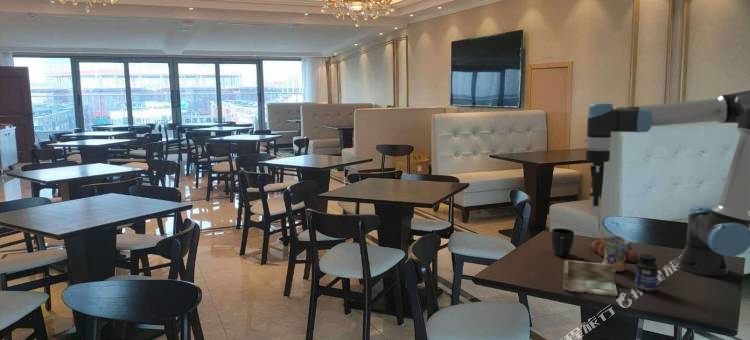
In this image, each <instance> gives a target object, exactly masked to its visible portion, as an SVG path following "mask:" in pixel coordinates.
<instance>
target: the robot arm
mask: <svg viewBox="0 0 750 340" xmlns="http://www.w3.org/2000/svg"><path fill="white" fill-rule="evenodd" d="M706 122H707V123H708V122H717V123H718V124H737V127H736V130H737V131H738V132H739V133H740V135H739V138H738V142H737V144H736V148H735V149H734V150H735V151H734V154H733V157H732V160H731V163H730V166H729V170H728V172H727V176H726V179H725V182H724V185H723V188H722V191H721V195H720V198H719V200H718V203H717V205H715V206H709V205H708V206H707V205H705V206H704V205H695V206H694V205H693V206H692V207H690V208H689V212H688V215H687V217H688V220H687V230H686V242H685V247H684V250H683V251H682V253H681V255H680V257H679V260H678V268H679V269H681V270H683V271H686V272H688V273H692V274H694V275H695V274H696V275H699V276H705V277H724V276H727V275H728V273H729V265H728V262H727V258H726V257H735V256H739V255H741V254H743V253H745V252H746V251H748V250H749V248H750V213H749V211H750V89H749V90H744V91H739V92H733V93H729V94H722V95H718V96H716V98H712V99H711V98H710V99H708V98H707V99H701V100H700V99H699V100H698V99H697V100H690V101H689V100H688V101H678V102H669V103H659V104H658V103H657V104H648V105H637V106H627V107H624V106H621V107H616V108H614V107H613V104H612V103H605V102H603V103H600V102H599V103H598V102H596V103H595V102H594V103H591V104H589V106H588V112H587V123H586V124H587V125H586V127H587V128H586V138H585V139H584V142H585V143H586V146H585V147H586V151H585V160H586V161H587V162H590V163H591V162H592V165H590V175H591V176H590V178H591V182H590V183H591V184H590V185H591V186H590V187H591V188H590V193H589V197H590V202H589V203H590V204H589V207H590V215H591V216H598V217H599V216H600V211H601V195H602V191H601V190H602V179H603V173H604V168H605V167H604V165H602V163H606V162H607V163H608V162H610V156H611V151H610V149H611V148H612V146H611V145H612V133H616V132H617V133H618V132H619V133H638V134H639V133H647V132H649V131H651V128H652V127H658V126H659V127H660V126H661V127H662V126H673V125H683V124H686V125H687V124H694V123H697V124H698V123H706Z"/></svg>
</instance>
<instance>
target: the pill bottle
mask: <svg viewBox="0 0 750 340" xmlns="http://www.w3.org/2000/svg"><path fill="white" fill-rule="evenodd" d="M656 262H657V257H656V256H655V255H652V254H647V253H646V254H645V253H644V254H640V255H639V261H637V263H636V268H635V269H636V270H635V279H634V280H635V281H634V288H635V289H636V290H637V291H641V292H644V293H653V292H655V291H656V289H657V280H658V270H659V269H658V267H659V266H658V264H656Z"/></svg>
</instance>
